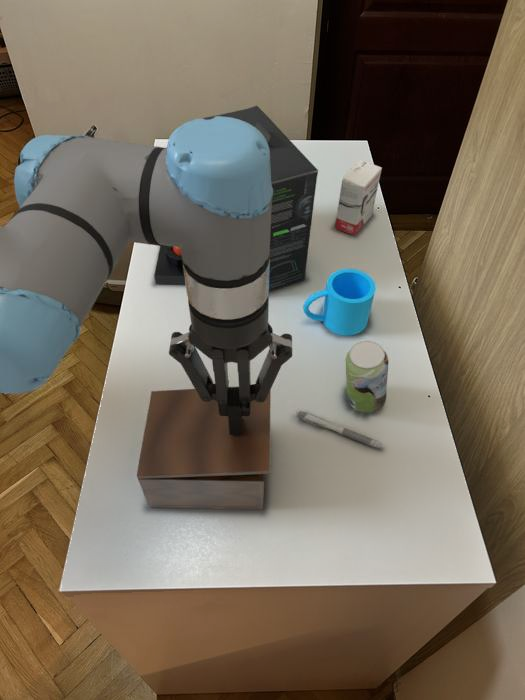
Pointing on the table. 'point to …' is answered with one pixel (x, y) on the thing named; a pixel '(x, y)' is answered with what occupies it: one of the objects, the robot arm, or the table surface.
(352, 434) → the pen
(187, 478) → the chest
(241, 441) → the brown wooden lid
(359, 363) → the beverage can
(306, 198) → the headset box
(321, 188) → the table surface
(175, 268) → the button block
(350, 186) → the ink box
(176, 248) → the button
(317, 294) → the mug
